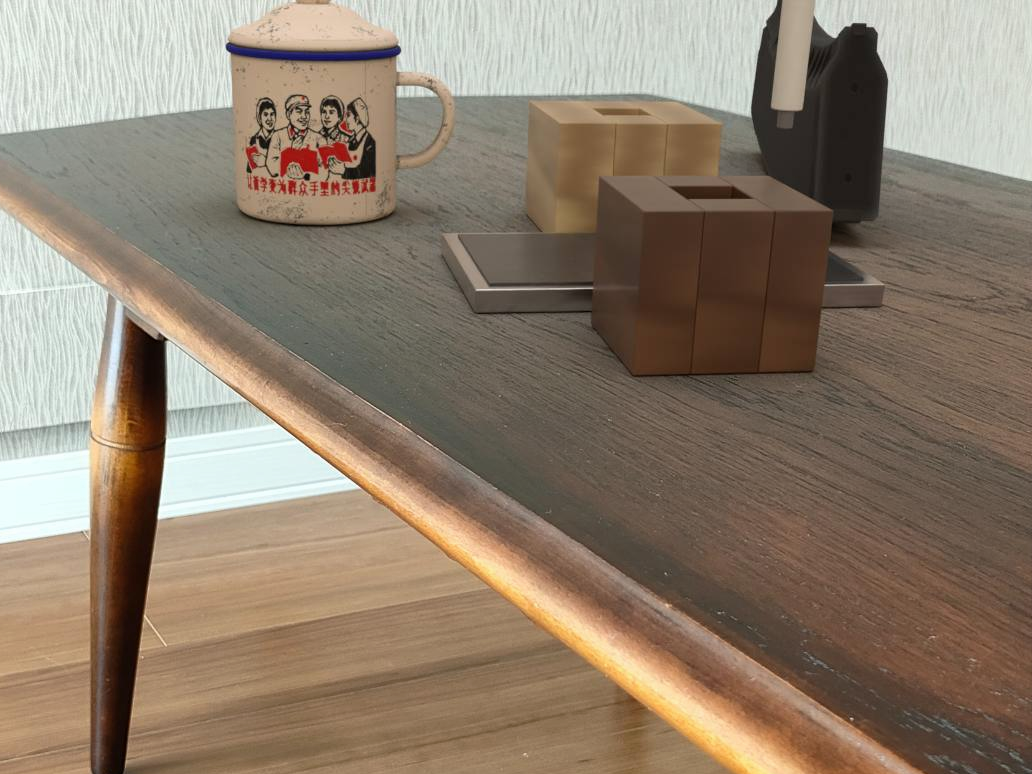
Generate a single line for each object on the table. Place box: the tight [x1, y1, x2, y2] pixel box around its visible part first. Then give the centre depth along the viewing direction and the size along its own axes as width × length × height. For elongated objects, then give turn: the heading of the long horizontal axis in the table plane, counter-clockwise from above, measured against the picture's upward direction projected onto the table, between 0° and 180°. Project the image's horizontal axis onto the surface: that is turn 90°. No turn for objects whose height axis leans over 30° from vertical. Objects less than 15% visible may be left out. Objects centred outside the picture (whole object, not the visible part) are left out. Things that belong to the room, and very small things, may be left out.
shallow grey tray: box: [440, 232, 886, 314], centre depth 66 cm, size 18×11×1 cm, turn 99°
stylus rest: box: [590, 175, 833, 376], centre depth 55 cm, size 7×7×6 cm
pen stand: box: [524, 100, 723, 233], centre depth 76 cm, size 8×8×6 cm
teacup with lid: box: [225, 0, 457, 226], centre depth 77 cm, size 12×9×12 cm
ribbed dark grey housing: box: [750, 0, 889, 224], centre depth 85 cm, size 17×3×30 cm
